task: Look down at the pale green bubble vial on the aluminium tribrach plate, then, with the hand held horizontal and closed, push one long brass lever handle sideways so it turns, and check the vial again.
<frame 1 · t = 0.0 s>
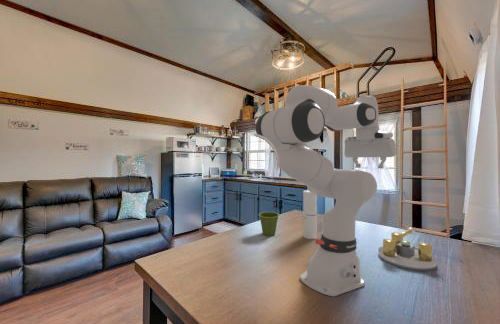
hand: (369, 167, 96), 39 cm above the table, tool pointing down, fingers open, 8 cm apart
tribrach: (405, 259, 95), on the table
cylindrical container: (310, 237, 123), on the table
brass lever handle: (403, 236, 106), point 5 cm above the table, hinge at 0.0°
plant pot: (268, 234, 127), on the table
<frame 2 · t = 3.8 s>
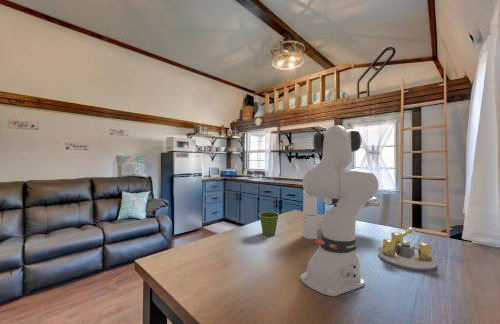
hand: (379, 204, 121), 18 cm above the table, tool horizontal, fingers closed
nothing on the table moved.
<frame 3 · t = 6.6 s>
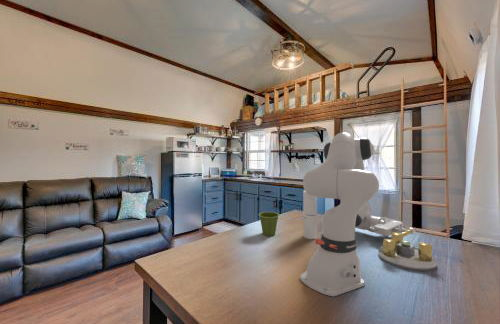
hand: (407, 231, 111), 6 cm above the table, tool horizontal, fingers closed, pressing on brass lever handle
brass lever handle: (404, 236, 106), point 5 cm above the table, hinge at 1.0°, touching gripper
everything else where it was.
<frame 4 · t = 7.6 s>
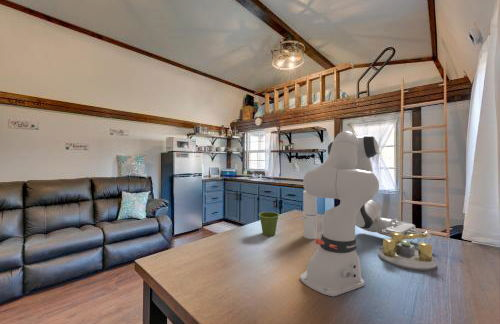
hand: (420, 234, 106), 6 cm above the table, tool horizontal, fingers closed
brass lever handle: (411, 239, 103), point 5 cm above the table, hinge at 25.0°, touching gripper
everything else where it was.
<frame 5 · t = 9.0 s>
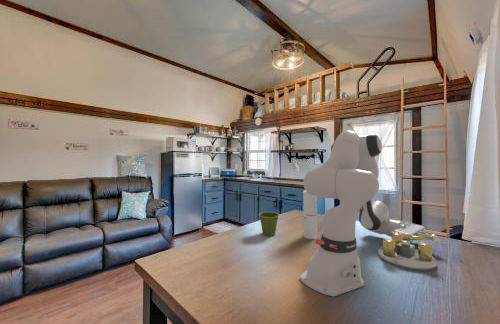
hand: (430, 236, 103), 6 cm above the table, tool horizontal, fingers closed
brass lever handle: (414, 240, 101), point 5 cm above the table, hinge at 38.1°, touching gripper
everything else where it was.
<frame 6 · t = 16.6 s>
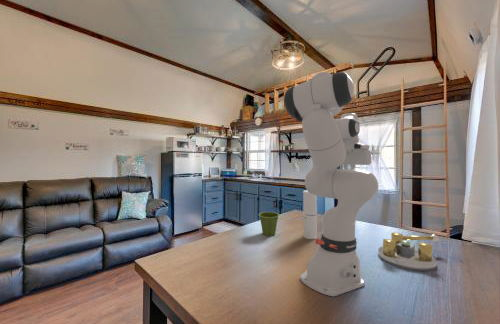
hand: (349, 173, 112), 35 cm above the table, tool pointing down, fingers closed
brass lever handle: (414, 240, 101), point 5 cm above the table, hinge at 38.1°
everything else where it was.
at the end: brass lever handle at +38° (first picture: +0°) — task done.
